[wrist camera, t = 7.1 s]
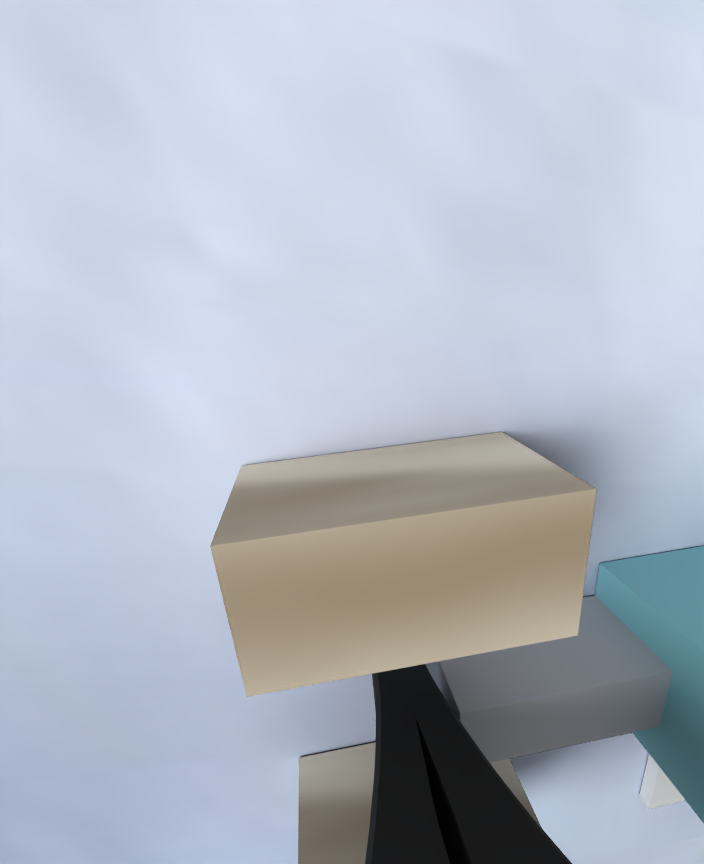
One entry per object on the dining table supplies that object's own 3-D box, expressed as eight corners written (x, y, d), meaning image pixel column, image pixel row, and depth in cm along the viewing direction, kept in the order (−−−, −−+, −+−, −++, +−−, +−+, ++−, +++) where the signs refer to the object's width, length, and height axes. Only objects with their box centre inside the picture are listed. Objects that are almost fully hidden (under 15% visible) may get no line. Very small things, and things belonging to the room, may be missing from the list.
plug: (728, 643, 12) (999, 853, 7) (427, 701, 11) (519, 984, 7) (760, 536, 11) (1109, 708, 6) (424, 592, 10) (534, 845, 5)
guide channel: (488, 781, 13) (541, 915, 10) (311, 820, 12) (314, 974, 9) (502, 432, 9) (597, 488, 6) (241, 465, 8) (210, 545, 5)
